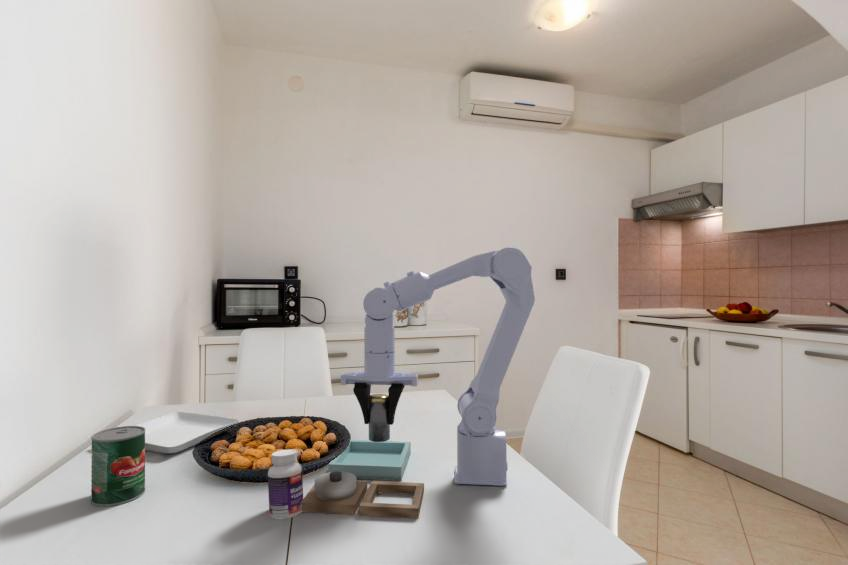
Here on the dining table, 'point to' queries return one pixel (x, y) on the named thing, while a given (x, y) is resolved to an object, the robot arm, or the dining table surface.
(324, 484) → the block
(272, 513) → the pill bottle
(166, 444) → the salad plate
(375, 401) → the tin can
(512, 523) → the dining table surface
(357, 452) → the tray
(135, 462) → the canned tomato
